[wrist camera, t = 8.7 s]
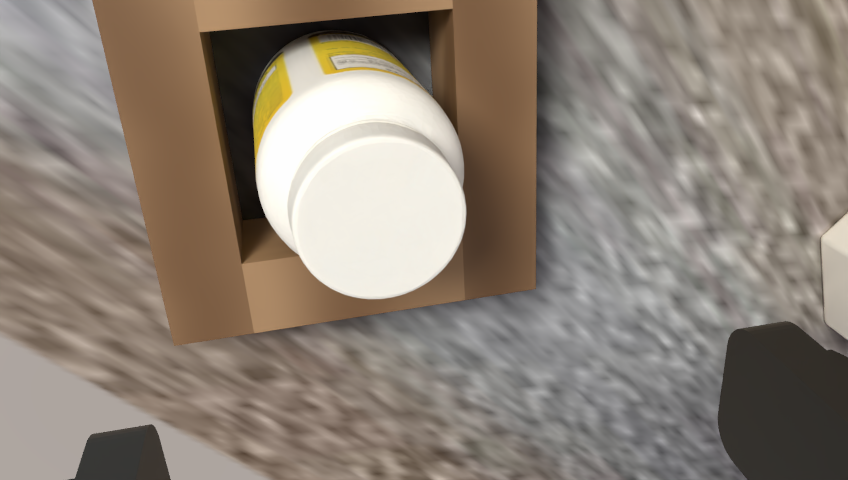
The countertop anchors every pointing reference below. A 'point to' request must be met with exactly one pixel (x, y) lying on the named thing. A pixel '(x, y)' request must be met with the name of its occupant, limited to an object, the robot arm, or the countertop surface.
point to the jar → (836, 276)
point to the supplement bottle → (357, 165)
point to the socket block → (255, 238)
